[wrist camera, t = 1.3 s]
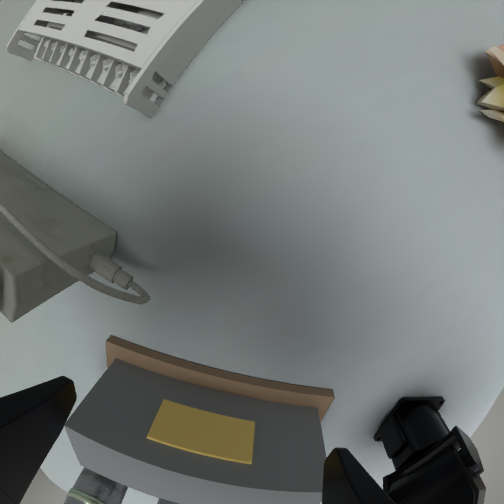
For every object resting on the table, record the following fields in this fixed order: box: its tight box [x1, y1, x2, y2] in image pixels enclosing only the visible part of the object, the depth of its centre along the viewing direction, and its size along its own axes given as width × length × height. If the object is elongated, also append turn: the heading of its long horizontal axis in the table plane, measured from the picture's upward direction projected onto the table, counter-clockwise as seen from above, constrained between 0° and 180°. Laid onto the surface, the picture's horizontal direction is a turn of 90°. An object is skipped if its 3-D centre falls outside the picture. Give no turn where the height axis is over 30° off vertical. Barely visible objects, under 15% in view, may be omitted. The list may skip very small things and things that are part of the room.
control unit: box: [64, 336, 335, 504], centre depth 18 cm, size 20×9×10 cm, turn 77°
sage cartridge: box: [64, 467, 128, 504], centre depth 20 cm, size 6×6×13 cm
